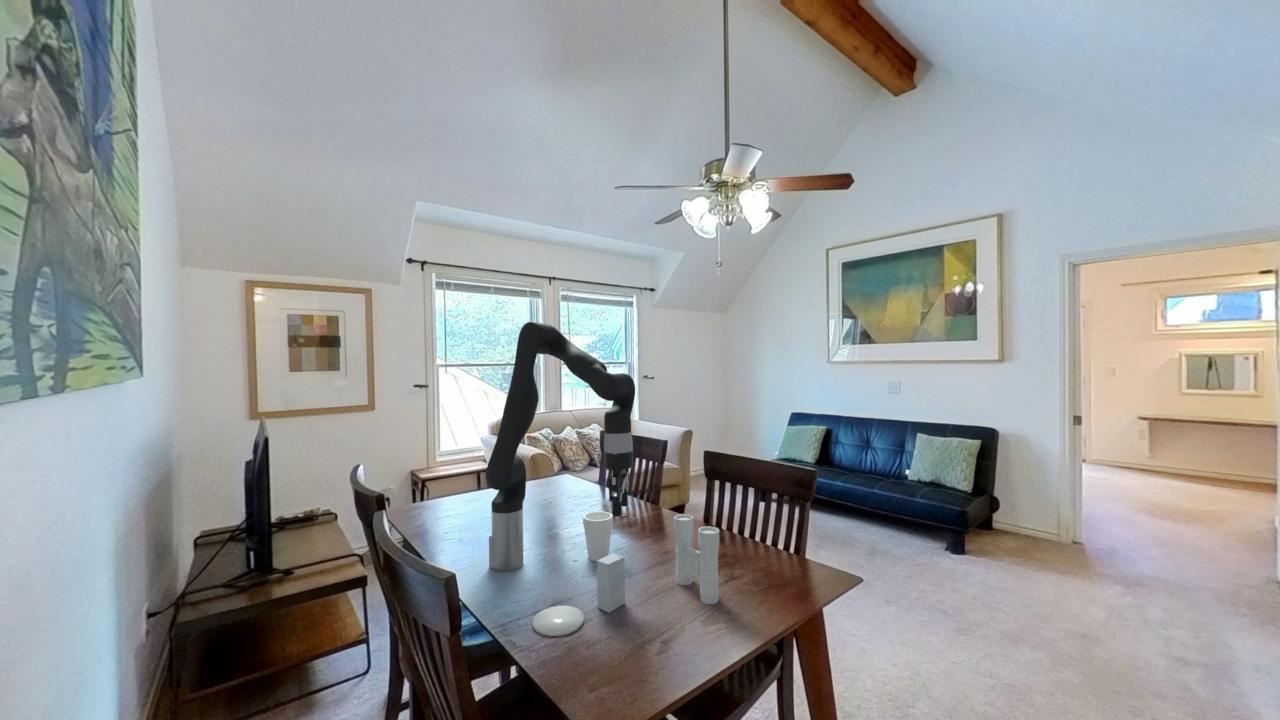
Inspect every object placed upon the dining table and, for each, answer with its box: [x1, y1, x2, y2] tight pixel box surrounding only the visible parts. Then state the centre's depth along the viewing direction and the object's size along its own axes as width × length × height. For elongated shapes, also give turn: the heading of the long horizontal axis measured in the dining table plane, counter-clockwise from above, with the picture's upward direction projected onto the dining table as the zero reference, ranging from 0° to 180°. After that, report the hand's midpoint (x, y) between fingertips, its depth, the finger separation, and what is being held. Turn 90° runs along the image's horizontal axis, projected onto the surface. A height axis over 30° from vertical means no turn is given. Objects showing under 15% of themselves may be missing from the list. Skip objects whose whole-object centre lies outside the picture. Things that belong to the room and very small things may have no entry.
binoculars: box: [673, 513, 720, 605], centre depth 128 cm, size 17×5×18 cm, turn 28°
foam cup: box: [582, 510, 614, 562], centre depth 150 cm, size 10×9×13 cm
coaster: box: [532, 605, 585, 637], centre depth 113 cm, size 12×12×1 cm
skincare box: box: [596, 552, 626, 613], centre depth 120 cm, size 6×4×12 cm
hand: (620, 511), depth 125 cm, fingers open, 8 cm apart
